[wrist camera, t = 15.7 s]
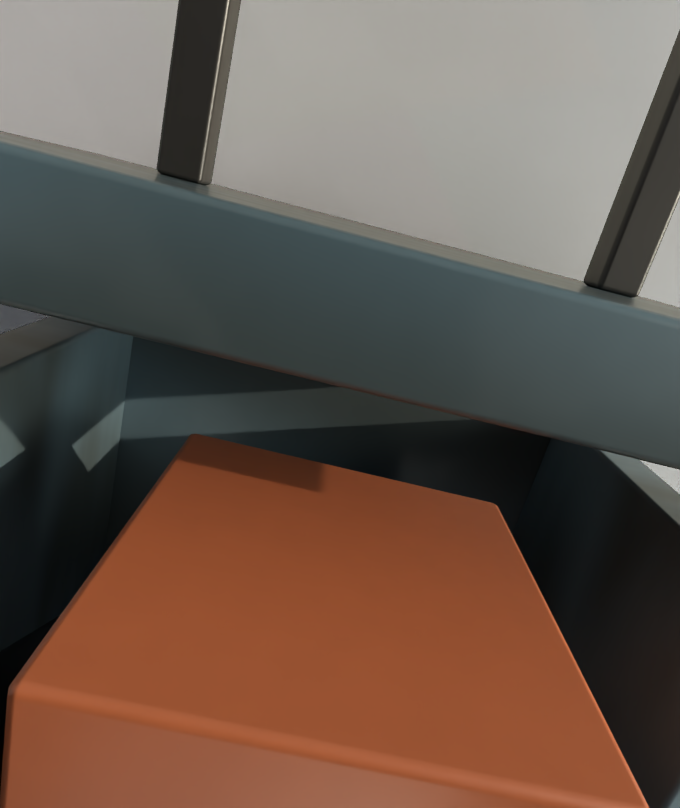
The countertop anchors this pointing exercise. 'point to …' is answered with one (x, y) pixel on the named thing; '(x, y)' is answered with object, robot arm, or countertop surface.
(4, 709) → the robot arm
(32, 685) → the block
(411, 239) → the drawer
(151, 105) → the countertop surface
